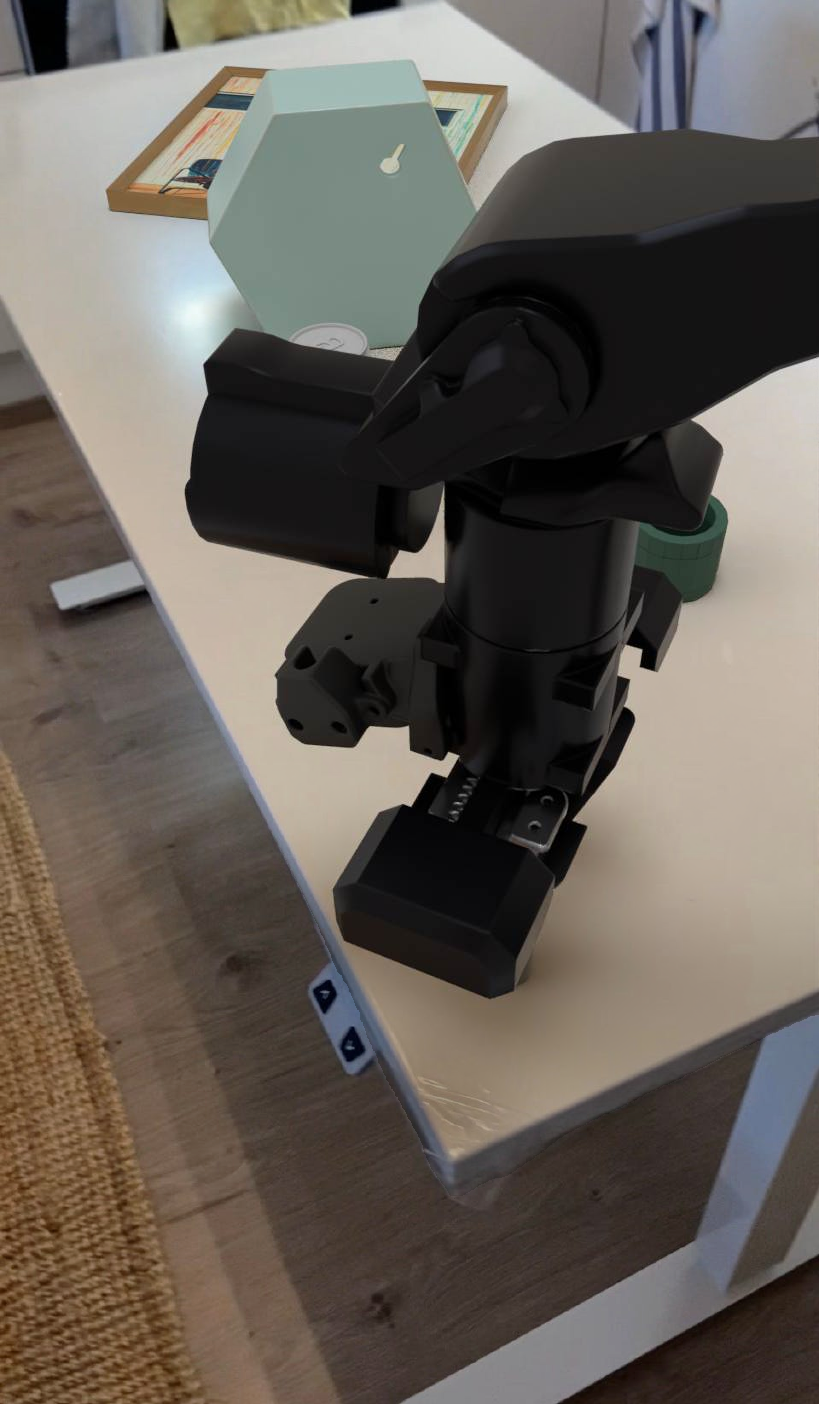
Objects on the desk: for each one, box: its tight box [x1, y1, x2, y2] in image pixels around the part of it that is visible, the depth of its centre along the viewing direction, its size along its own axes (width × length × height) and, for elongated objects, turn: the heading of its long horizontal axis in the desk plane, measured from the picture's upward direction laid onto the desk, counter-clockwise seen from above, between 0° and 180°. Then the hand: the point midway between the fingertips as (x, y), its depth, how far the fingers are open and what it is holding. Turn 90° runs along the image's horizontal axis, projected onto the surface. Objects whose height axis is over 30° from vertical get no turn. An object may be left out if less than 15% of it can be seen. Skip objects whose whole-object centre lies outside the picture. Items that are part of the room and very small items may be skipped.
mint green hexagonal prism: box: [206, 59, 478, 350], centre depth 86 cm, size 17×8×21 cm
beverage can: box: [289, 323, 372, 357], centre depth 72 cm, size 5×5×12 cm
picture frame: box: [105, 65, 509, 221], centre depth 113 cm, size 30×2×30 cm
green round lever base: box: [634, 494, 729, 603], centre depth 70 cm, size 5×6×4 cm
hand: (515, 877), depth 48 cm, fingers closed
